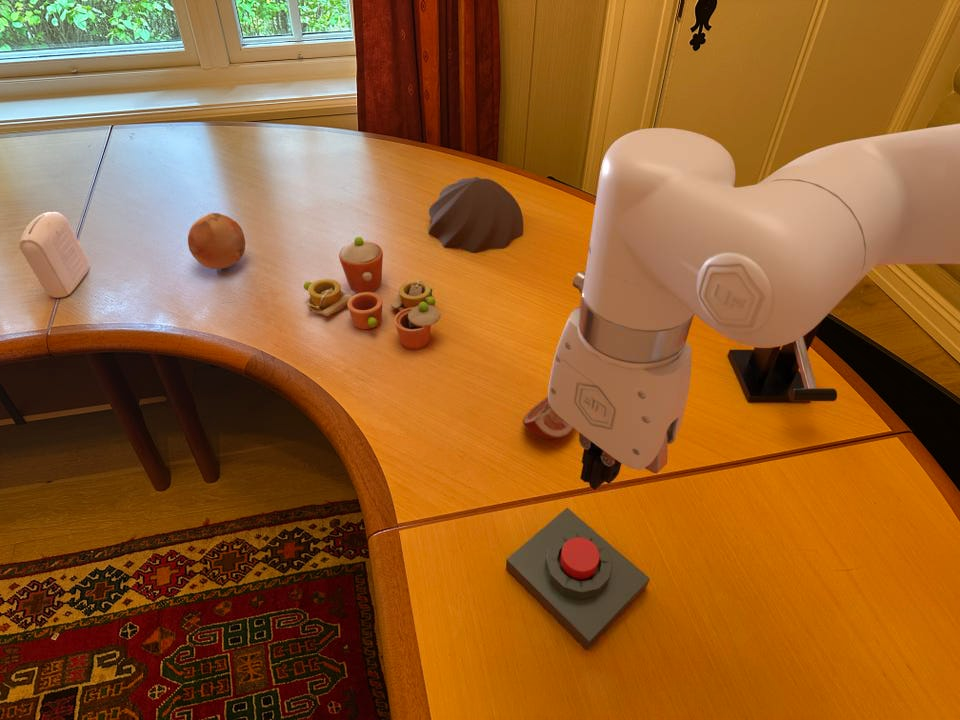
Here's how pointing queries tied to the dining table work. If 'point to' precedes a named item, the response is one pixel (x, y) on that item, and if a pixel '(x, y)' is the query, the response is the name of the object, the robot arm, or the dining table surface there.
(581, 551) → the button
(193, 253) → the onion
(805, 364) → the lever
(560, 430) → the fruit slice
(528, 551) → the button box
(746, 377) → the bracket
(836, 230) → the robot arm
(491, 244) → the decorative dome
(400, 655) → the dining table surface
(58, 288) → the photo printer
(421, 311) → the toy tea set
